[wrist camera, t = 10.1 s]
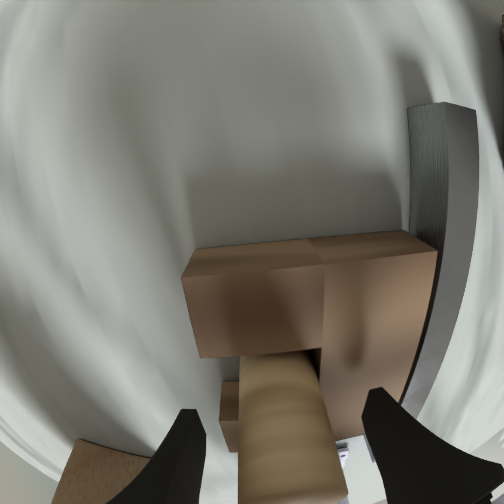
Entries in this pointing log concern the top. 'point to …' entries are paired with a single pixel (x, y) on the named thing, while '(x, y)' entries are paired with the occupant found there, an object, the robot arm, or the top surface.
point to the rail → (441, 228)
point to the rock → (503, 31)
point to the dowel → (285, 434)
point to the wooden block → (96, 474)
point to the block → (315, 313)
